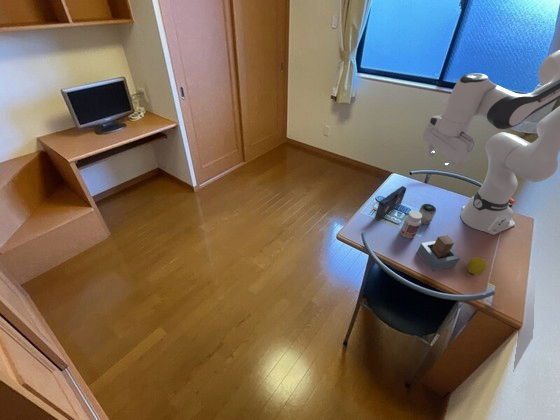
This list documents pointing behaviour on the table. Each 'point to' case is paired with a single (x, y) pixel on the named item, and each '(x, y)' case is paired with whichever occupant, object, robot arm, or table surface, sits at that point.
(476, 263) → the lemon
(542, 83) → the robot arm
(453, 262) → the docking socket
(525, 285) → the table surface
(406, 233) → the pill bottle
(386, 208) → the vhs cassette tape
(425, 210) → the camera lens
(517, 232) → the table surface
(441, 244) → the walnut spigot peg
